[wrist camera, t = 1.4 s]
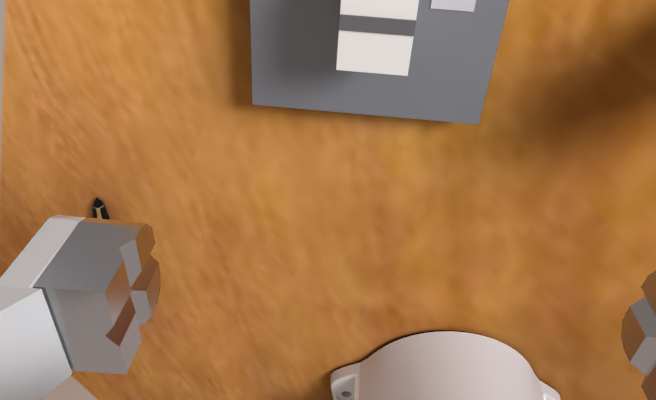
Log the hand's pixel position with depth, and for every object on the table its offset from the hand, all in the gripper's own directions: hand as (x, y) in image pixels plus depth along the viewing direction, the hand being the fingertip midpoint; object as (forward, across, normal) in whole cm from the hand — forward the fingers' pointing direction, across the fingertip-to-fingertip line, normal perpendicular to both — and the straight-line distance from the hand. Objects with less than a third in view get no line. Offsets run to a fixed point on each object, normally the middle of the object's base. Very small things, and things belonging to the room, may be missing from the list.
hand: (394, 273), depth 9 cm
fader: (+19, 0, +1) cm, 19 cm away
